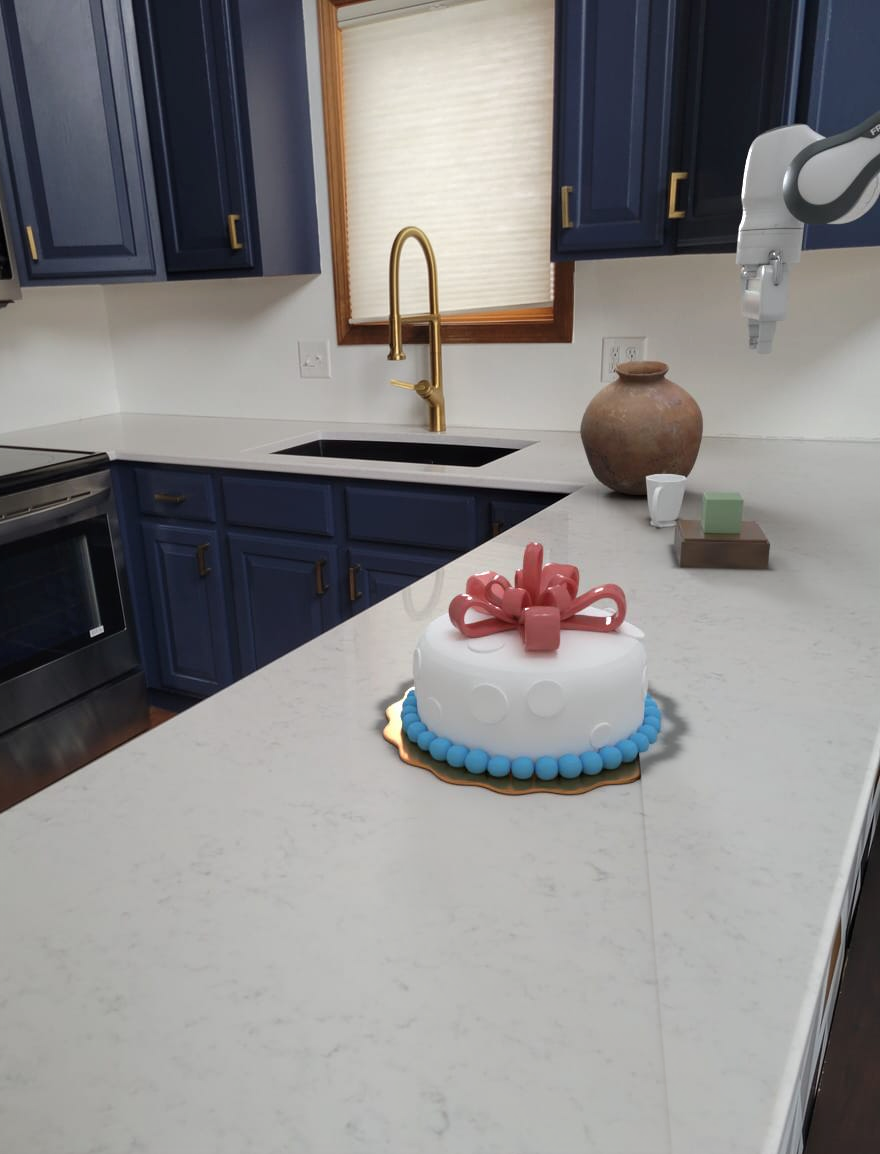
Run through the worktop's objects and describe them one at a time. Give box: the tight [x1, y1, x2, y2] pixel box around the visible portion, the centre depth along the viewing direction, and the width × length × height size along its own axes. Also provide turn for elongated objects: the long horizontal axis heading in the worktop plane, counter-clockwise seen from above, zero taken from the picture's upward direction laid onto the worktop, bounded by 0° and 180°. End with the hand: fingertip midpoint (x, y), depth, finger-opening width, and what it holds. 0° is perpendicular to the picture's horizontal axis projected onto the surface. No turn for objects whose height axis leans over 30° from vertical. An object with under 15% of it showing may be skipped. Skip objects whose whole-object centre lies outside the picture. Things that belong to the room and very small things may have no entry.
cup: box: [646, 474, 688, 529], centre depth 162 cm, size 7×10×8 cm
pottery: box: [579, 360, 704, 496], centre depth 185 cm, size 23×23×25 cm
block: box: [700, 491, 744, 534], centre depth 140 cm, size 5×5×5 cm
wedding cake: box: [382, 541, 663, 795], centre depth 89 cm, size 28×28×18 cm
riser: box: [672, 519, 771, 570], centre depth 141 cm, size 12×12×5 cm
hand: (758, 351), depth 144 cm, fingers open, 8 cm apart
